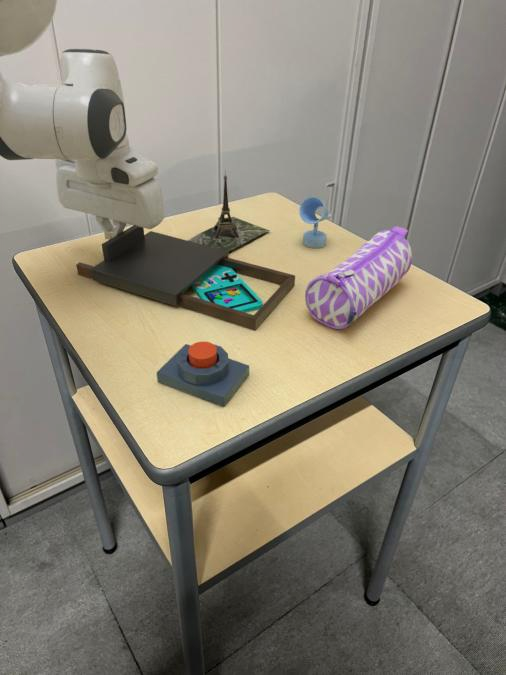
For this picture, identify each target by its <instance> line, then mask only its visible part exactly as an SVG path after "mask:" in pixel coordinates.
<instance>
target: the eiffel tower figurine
mask: <svg viewBox="0 0 506 675" xmlns="http://www.w3.org/2000/svg"><path fill="white" fill-rule="evenodd" d="M226 172H227V171H226V169H225V171H224V175H223V182H224V184H223V201H222V208H221V212H220V216H219V217H217V222H216V223H215V225H214V226H213V227H210V228H208V229H206V230H204V231H202V232H199V233H198V234H196V235H194V236H192V237H191V238H189V239H186V240H187V241H191V242H195V243H199V244H202V245H206V246H210V247H214V248H218V249H222V250H225V251H229V252H231V251H233V250H235V249H237V248H239V247H241V246H242V245H244V244H246V243H248V242H249V241H252V240H254V239H256V238H258V237H259V236H262V235H264V234H267V233H268V232H271V230H269V229H266V228H264V227H262V226H259V225H257V224H253V223H251V222H248V221H247V220H246V221H245V220H243V219H240V218H237V217H235V216H232V215H231V213H230V212H231V209H230V207H229V197H228V176H227V175H226V174H227V173H226ZM225 216H227V217H225Z"/></svg>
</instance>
